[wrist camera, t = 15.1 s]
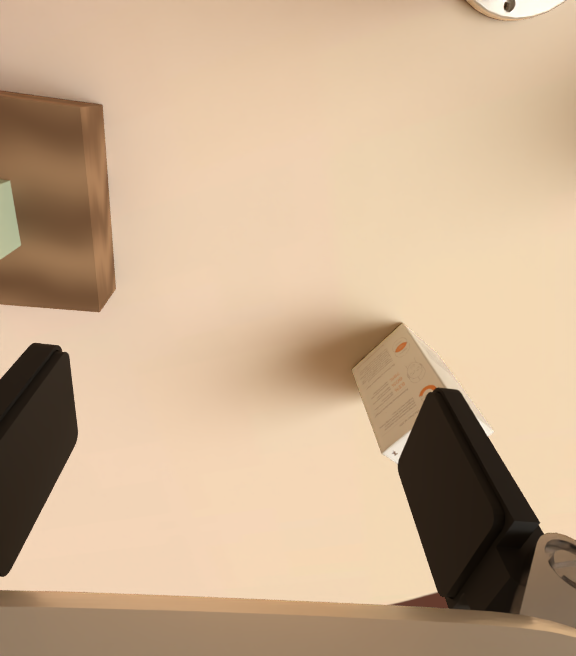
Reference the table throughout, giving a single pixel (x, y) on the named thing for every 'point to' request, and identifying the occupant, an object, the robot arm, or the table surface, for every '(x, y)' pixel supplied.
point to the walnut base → (56, 203)
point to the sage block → (7, 220)
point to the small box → (403, 387)
